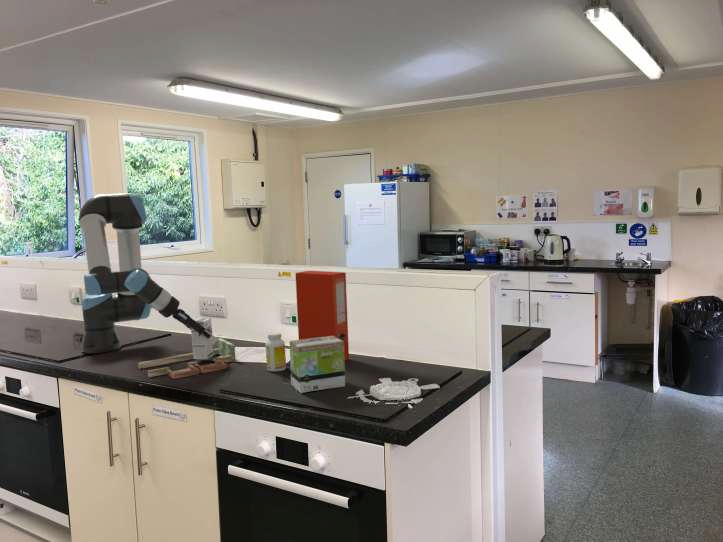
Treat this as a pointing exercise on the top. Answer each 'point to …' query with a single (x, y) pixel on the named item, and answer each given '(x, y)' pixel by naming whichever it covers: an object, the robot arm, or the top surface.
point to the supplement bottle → (275, 352)
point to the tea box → (317, 363)
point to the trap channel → (193, 368)
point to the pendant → (395, 391)
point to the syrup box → (202, 340)
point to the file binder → (322, 306)
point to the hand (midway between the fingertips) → (211, 339)
